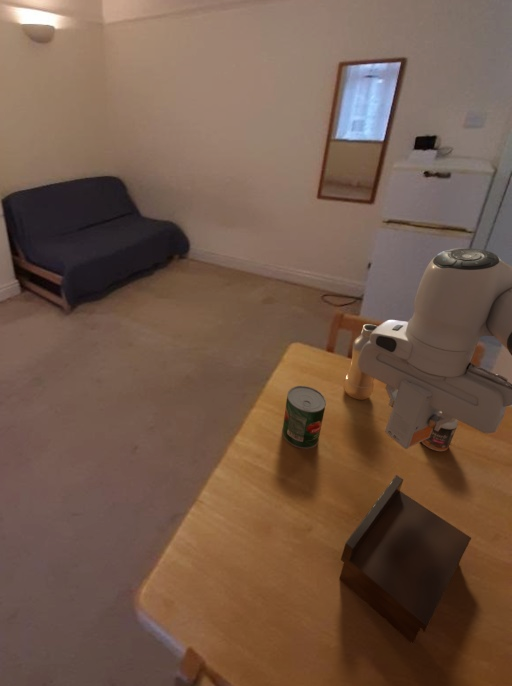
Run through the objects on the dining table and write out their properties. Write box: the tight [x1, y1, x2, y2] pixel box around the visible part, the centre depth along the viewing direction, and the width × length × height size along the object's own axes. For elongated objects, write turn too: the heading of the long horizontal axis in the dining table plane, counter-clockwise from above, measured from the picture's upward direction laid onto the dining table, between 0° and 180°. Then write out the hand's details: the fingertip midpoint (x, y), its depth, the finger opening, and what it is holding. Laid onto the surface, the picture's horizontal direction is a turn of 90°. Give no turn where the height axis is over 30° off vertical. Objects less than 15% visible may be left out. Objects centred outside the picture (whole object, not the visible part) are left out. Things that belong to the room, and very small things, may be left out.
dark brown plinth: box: [339, 475, 472, 644], centre depth 65 cm, size 12×18×9 cm, turn 129°
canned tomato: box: [281, 385, 327, 450], centre depth 89 cm, size 8×8×11 cm
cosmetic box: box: [384, 379, 440, 450], centre depth 67 cm, size 6×4×12 cm
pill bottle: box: [421, 411, 459, 452], centre depth 86 cm, size 6×6×10 cm
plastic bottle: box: [343, 323, 379, 401], centre depth 98 cm, size 6×7×20 cm
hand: (413, 416), depth 68 cm, fingers closed on cosmetic box, 5 cm apart
